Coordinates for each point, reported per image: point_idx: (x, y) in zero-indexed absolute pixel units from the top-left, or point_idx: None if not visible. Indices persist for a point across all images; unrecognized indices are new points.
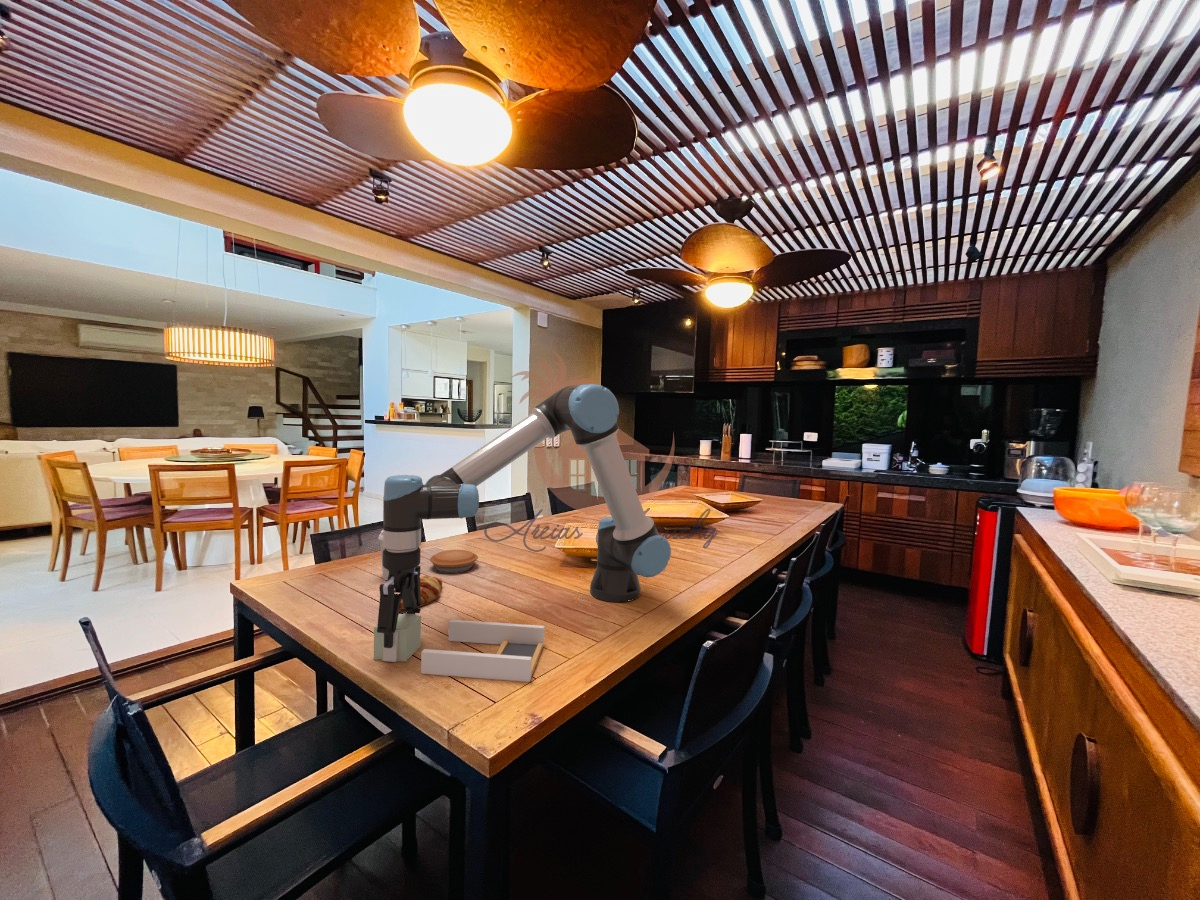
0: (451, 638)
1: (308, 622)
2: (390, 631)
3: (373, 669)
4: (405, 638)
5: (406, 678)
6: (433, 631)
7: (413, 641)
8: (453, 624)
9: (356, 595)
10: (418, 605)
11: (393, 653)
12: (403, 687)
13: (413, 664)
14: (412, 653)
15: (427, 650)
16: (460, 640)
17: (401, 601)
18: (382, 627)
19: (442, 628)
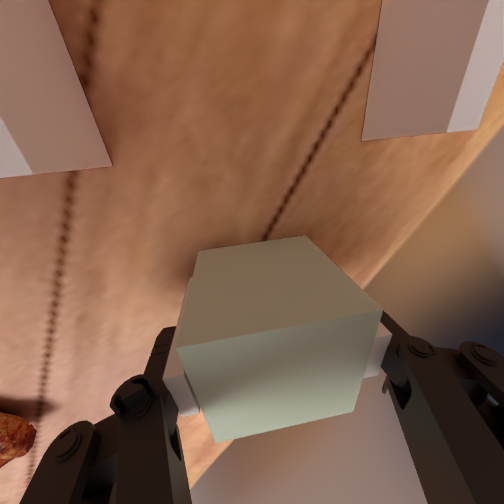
0: (99, 150)
1: (195, 464)
2: (482, 348)
3: None
4: (348, 280)
5: (403, 175)
6: (79, 269)
7: (262, 263)
8: (27, 130)
9: None
10: (91, 441)
11: None
12: (452, 154)
13: (321, 202)
14: (262, 242)
15: (468, 99)
16: (80, 91)
17: (6, 455)
18: (487, 396)
19: (30, 252)
